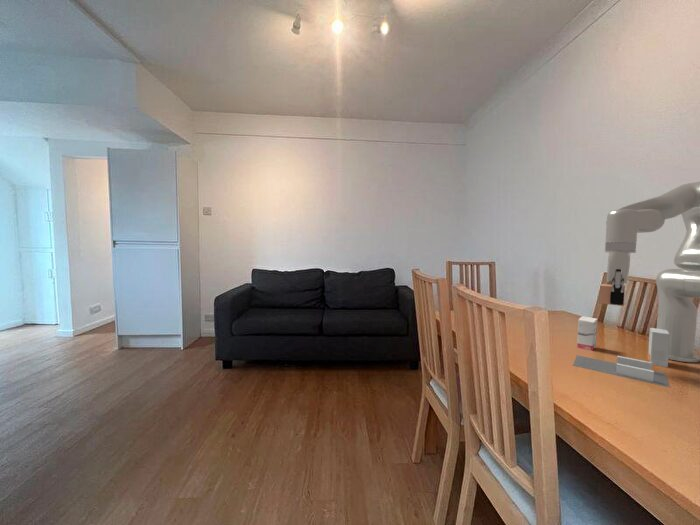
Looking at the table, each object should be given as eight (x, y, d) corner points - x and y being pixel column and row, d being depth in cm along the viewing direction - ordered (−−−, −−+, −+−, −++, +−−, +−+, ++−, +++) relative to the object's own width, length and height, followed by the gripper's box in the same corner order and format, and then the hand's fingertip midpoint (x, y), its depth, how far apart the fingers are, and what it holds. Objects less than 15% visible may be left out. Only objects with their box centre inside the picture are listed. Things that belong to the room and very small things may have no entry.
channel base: (576, 357, 107) (577, 346, 107) (665, 376, 92) (666, 363, 92) (572, 368, 98) (573, 356, 98) (669, 390, 83) (670, 376, 83)
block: (600, 301, 104) (601, 283, 103) (623, 303, 100) (624, 285, 99) (599, 303, 100) (600, 285, 99) (623, 306, 96) (624, 287, 95)
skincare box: (647, 361, 104) (649, 327, 103) (664, 364, 101) (667, 329, 101) (649, 366, 99) (652, 331, 99) (668, 370, 97) (670, 334, 96)
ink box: (592, 353, 111) (594, 322, 111) (576, 349, 115) (577, 319, 114) (596, 347, 117) (598, 318, 116) (580, 344, 121) (582, 315, 120)
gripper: (606, 247, 106) (603, 297, 108) (603, 248, 94) (600, 305, 95) (635, 247, 101) (631, 300, 103) (636, 248, 89) (632, 309, 90)
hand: (616, 302), depth 99 cm, fingers closed on block, 5 cm apart
